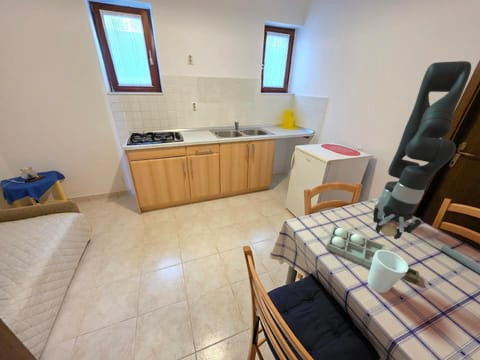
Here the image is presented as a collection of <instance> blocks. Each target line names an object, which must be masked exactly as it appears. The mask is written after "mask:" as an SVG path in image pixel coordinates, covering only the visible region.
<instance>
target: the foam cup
mask: <svg viewBox="0 0 480 360" xmlns="http://www.w3.org/2000/svg"><path fill="white" fill-rule="evenodd" d="M408 268H410V267H409V265H408V263H407V261H406V260H405V259H404V258H403V257H401V256H400V255H399V254H397V253H396V252H393V251H391V250H388V249H385V250H377V251H376V253H375V254H374V256H373V261H372V265H371V268H369V272H368V277H367V284H368V286H369V287H370V288H371V289H372V290H374V291H375V292H376V293H379V294H385V293H387V292H389V290H390V289H391V288H392V287H394V285H396V284H397V283H398V282H399V281H400V279H403V278H402V277H403V276H405V274H406V272H407V271H408Z"/></svg>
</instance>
